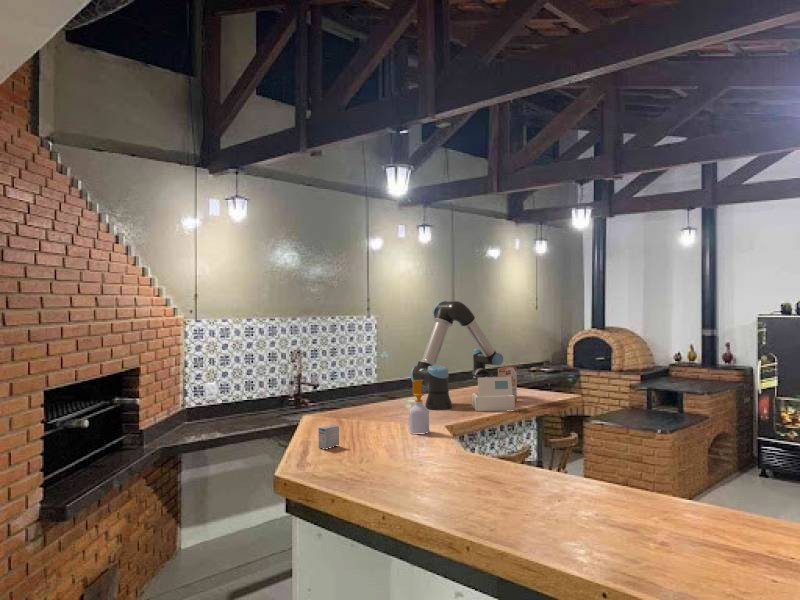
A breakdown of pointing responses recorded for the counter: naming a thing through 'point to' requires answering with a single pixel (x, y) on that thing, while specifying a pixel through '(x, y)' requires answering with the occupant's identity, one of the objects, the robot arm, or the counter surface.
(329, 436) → the medicine box
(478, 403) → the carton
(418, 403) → the soap bottle
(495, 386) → the front flap
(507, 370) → the cracker box
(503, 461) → the counter surface
